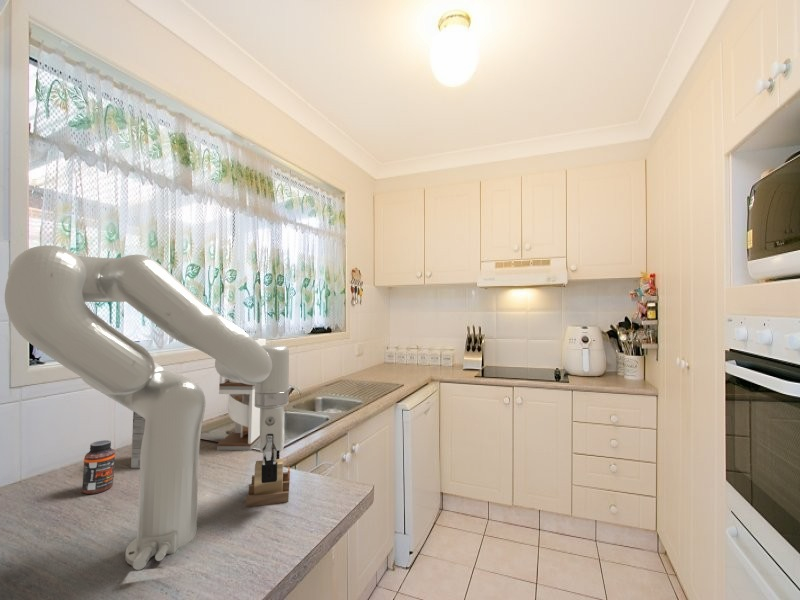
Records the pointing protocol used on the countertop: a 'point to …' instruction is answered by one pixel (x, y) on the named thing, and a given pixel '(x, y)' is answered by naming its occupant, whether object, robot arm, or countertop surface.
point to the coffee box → (137, 439)
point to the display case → (241, 413)
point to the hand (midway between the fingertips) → (271, 472)
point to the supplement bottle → (98, 467)
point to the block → (271, 486)
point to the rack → (269, 497)
